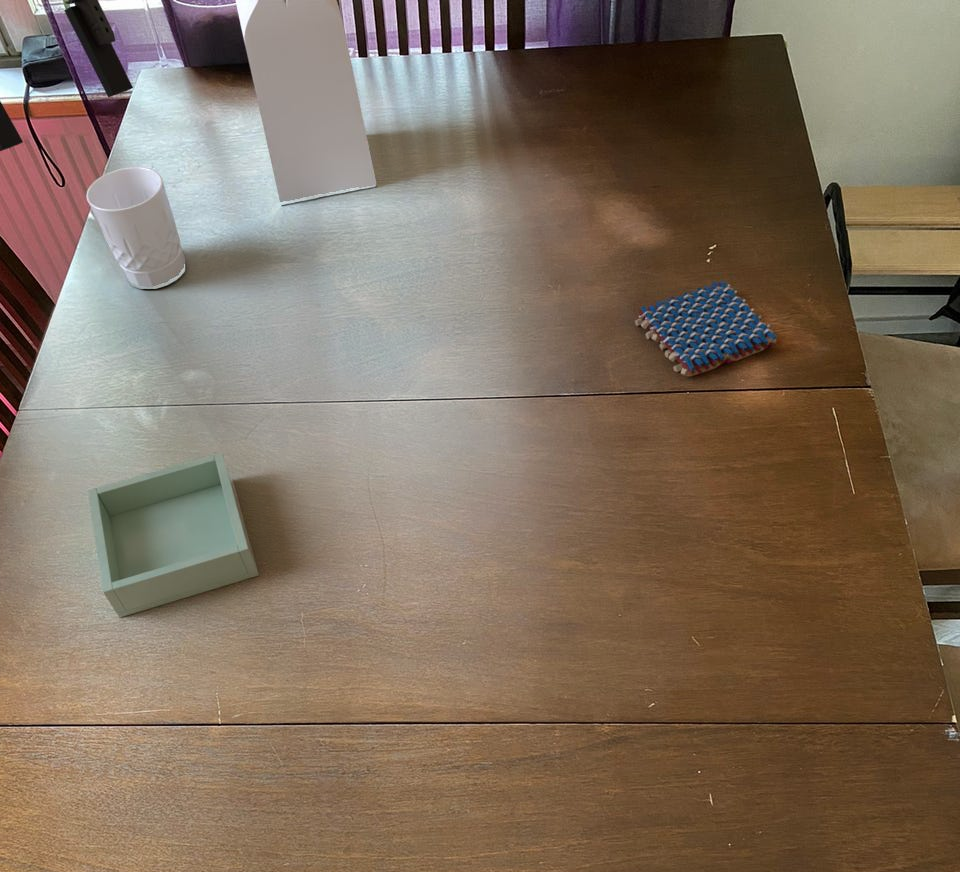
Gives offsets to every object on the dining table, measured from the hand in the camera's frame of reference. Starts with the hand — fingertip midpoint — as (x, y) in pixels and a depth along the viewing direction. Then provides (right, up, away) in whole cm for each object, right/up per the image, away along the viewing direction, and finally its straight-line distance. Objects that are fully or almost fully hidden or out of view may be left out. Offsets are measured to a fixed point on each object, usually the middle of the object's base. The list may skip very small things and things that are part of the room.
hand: (64, 121), depth 86 cm
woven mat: (+58, -15, +13) cm, 61 cm away
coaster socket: (+9, -36, +2) cm, 38 cm away
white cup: (0, -4, +25) cm, 25 cm away
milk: (+17, +12, +35) cm, 40 cm away
